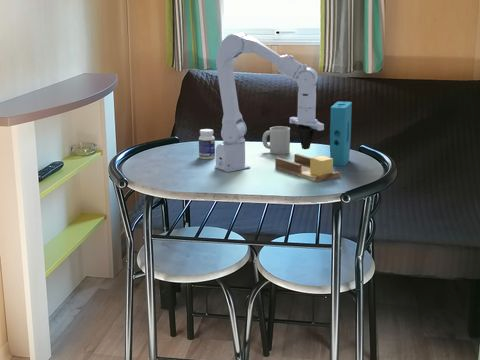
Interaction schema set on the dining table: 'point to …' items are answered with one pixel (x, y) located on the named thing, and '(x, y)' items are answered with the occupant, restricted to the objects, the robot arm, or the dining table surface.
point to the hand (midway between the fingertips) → (305, 148)
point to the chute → (302, 168)
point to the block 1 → (321, 165)
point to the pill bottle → (206, 144)
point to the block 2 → (340, 133)
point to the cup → (278, 140)
